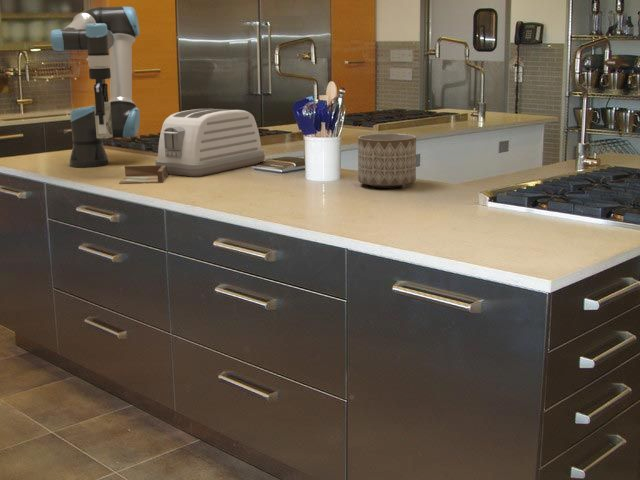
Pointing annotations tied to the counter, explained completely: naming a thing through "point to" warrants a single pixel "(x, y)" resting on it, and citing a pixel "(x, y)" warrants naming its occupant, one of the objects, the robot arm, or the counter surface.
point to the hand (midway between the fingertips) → (104, 132)
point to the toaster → (209, 142)
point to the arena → (144, 174)
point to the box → (108, 121)
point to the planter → (387, 159)
